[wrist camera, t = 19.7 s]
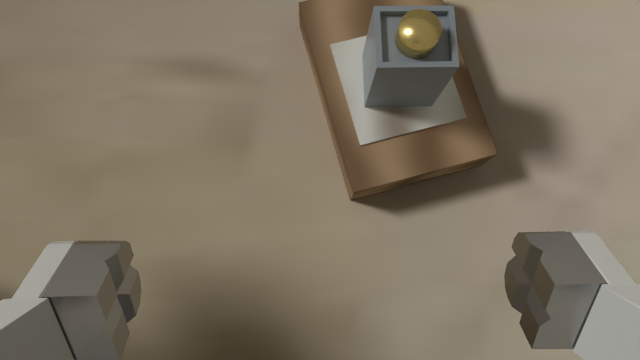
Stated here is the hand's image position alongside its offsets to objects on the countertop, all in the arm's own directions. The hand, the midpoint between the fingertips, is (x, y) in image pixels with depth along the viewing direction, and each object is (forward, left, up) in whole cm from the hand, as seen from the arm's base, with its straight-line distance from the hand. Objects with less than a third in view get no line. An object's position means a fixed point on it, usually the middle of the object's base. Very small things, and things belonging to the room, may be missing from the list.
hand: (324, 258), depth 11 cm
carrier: (+11, +13, -27) cm, 32 cm away
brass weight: (+11, +13, -20) cm, 27 cm away
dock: (+11, +14, -31) cm, 36 cm away
